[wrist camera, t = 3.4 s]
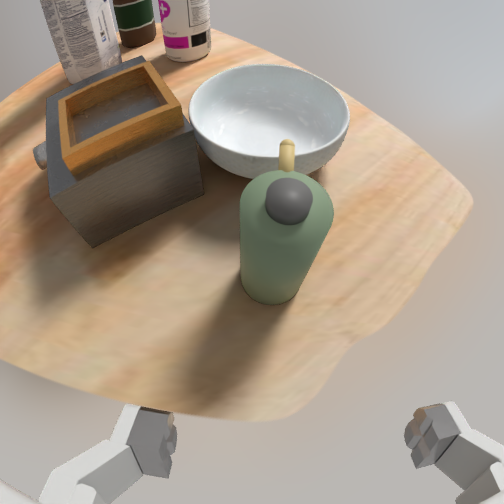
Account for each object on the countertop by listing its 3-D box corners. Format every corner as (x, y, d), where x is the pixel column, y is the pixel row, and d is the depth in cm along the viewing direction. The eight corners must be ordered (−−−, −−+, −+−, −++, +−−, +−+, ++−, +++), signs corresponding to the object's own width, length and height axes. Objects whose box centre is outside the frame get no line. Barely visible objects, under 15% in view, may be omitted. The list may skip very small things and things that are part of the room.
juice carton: (101, 87, 41) (64, -47, 16) (63, 87, 42) (24, -27, 18) (129, 61, 44) (106, -61, 20) (91, 62, 46) (63, -45, 21)
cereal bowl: (244, 92, 39) (245, 51, 33) (353, 136, 36) (368, 94, 29) (166, 165, 33) (153, 118, 26) (298, 231, 29) (312, 186, 23)
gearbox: (69, 260, 27) (8, 200, 17) (53, 156, 34) (20, 97, 24) (204, 194, 31) (190, 109, 21) (154, 107, 37) (139, 41, 27)
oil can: (301, 306, 26) (343, 242, 15) (238, 303, 26) (235, 235, 15) (300, 230, 29) (329, 140, 18) (243, 227, 29) (245, 133, 18)
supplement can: (168, 67, 43) (157, -9, 29) (165, 50, 46) (155, -17, 33) (215, 58, 44) (211, -17, 30) (206, 42, 47) (203, -24, 34)
